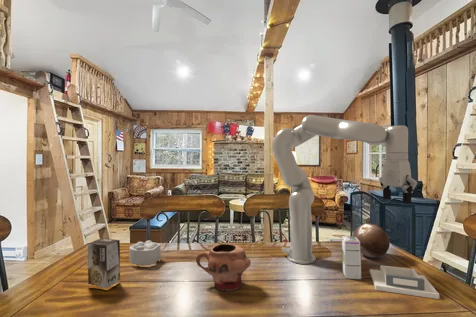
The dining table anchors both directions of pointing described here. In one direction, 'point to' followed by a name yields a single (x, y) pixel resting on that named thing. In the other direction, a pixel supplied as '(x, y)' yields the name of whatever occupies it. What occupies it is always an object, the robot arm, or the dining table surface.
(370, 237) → the wooden sphere
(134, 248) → the lumpy-topped squat cylinder
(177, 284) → the dining table surface
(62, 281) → the dining table surface
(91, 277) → the coffee box
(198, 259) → the sculpted clay mug
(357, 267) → the syrup box
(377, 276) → the shelf bay
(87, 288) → the dining table surface
